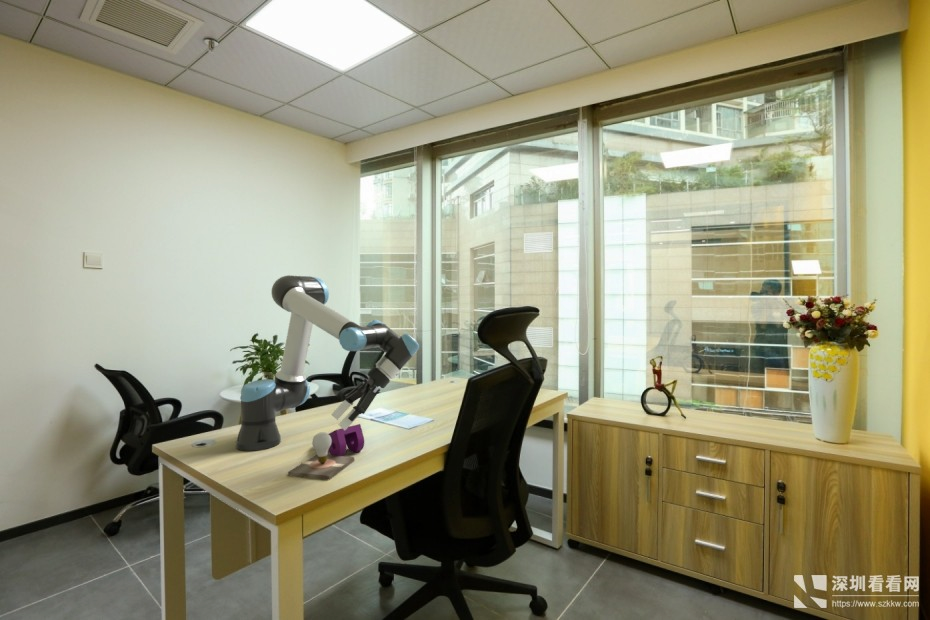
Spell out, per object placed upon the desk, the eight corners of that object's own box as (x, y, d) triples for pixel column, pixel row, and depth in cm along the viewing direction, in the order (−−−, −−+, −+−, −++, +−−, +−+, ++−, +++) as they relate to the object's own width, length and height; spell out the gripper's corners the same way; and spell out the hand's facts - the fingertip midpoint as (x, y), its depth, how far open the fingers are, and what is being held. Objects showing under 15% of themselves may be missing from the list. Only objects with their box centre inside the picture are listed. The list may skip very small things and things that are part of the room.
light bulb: (309, 463, 141) (308, 432, 141) (326, 458, 145) (325, 428, 145) (318, 468, 137) (317, 436, 137) (335, 463, 141) (334, 432, 141)
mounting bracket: (317, 466, 159) (342, 455, 147) (311, 442, 161) (335, 429, 150) (340, 459, 166) (366, 447, 154) (335, 436, 168) (360, 423, 157)
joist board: (288, 475, 135) (288, 471, 135) (316, 457, 150) (316, 453, 150) (329, 479, 132) (329, 475, 131) (354, 460, 147) (354, 456, 147)
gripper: (401, 386, 139) (354, 440, 133) (380, 374, 161) (339, 420, 155) (385, 371, 136) (335, 424, 130) (366, 361, 159) (323, 406, 153)
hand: (337, 422), depth 143 cm, fingers open, 13 cm apart
